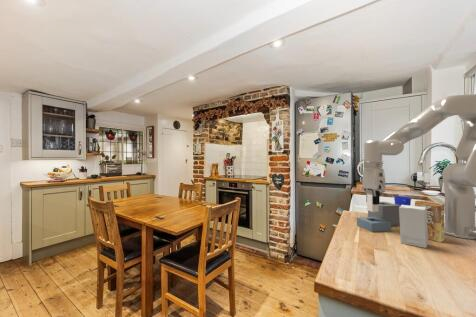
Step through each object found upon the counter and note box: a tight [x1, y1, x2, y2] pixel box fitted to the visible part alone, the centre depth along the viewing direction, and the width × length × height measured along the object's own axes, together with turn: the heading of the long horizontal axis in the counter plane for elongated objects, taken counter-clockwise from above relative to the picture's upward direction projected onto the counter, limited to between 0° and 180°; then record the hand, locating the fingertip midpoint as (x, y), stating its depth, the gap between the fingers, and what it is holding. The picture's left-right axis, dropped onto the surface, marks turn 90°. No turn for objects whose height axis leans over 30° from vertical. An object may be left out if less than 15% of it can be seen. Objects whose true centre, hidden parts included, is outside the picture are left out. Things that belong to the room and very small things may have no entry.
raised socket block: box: [367, 201, 400, 227], centre depth 116 cm, size 10×10×10 cm
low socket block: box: [356, 216, 392, 233], centre depth 107 cm, size 10×10×4 cm
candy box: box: [414, 199, 446, 243], centre depth 93 cm, size 9×4×15 cm, turn 33°
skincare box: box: [399, 205, 429, 249], centre depth 87 cm, size 8×6×15 cm
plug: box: [366, 189, 379, 212], centre depth 107 cm, size 3×3×10 cm
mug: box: [393, 195, 412, 206], centre depth 132 cm, size 8×12×10 cm
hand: (372, 203), depth 107 cm, fingers closed on plug, 3 cm apart
